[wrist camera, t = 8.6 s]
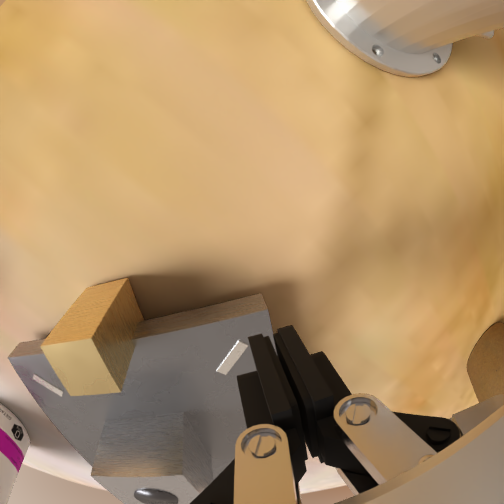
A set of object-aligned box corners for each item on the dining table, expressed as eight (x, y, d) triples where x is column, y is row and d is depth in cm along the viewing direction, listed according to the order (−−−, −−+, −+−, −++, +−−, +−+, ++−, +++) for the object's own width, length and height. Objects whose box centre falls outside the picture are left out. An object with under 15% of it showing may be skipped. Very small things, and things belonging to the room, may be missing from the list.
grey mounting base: (249, 247, 17) (275, 297, 11) (294, 448, 23) (312, 502, 17) (11, 306, 16) (-38, 355, 9) (124, 471, 22) (117, 521, 16)
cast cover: (183, 411, 16) (182, 476, 12) (211, 457, 18) (216, 511, 13) (105, 420, 16) (90, 476, 11) (142, 464, 18) (137, 514, 13)
